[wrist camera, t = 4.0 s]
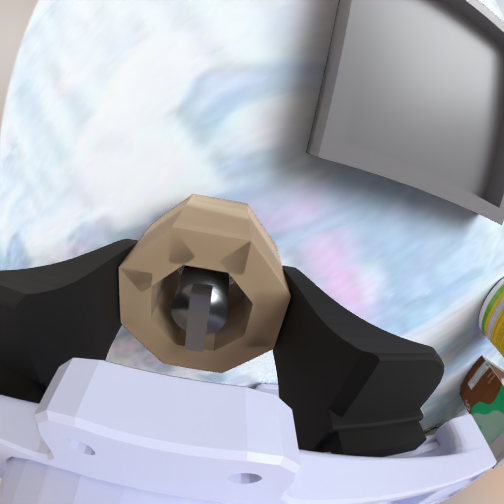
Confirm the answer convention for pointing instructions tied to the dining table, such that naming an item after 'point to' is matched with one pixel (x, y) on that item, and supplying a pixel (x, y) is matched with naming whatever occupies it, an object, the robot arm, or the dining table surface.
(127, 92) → the dining table surface
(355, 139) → the tray
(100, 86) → the dining table surface
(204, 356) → the ring
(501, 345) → the supplement bottle
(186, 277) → the stake
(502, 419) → the food container
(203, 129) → the dining table surface
